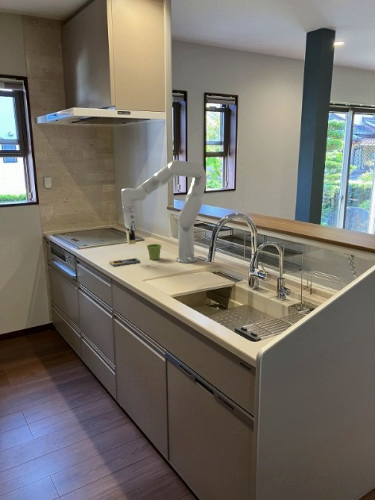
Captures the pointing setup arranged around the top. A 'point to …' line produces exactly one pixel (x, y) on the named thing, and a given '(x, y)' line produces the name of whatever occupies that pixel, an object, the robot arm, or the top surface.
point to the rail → (124, 262)
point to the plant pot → (154, 251)
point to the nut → (129, 238)
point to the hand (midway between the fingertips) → (131, 239)
